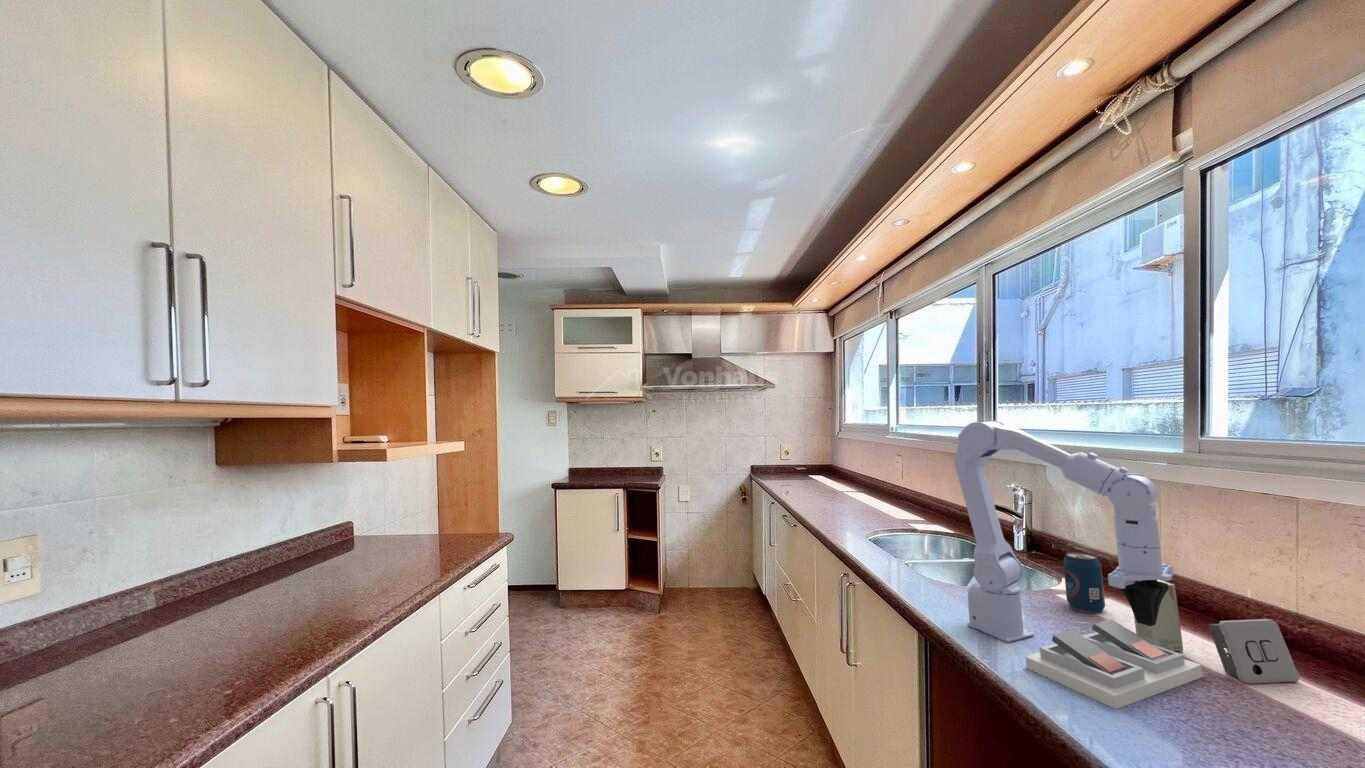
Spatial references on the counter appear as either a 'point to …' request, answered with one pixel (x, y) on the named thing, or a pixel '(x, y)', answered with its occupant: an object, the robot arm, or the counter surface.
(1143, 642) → the rocker
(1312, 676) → the counter surface
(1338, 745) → the counter surface
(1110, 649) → the breaker panel
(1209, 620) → the counter surface
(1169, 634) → the skincare box
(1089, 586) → the soda can
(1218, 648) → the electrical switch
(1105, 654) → the rocker
